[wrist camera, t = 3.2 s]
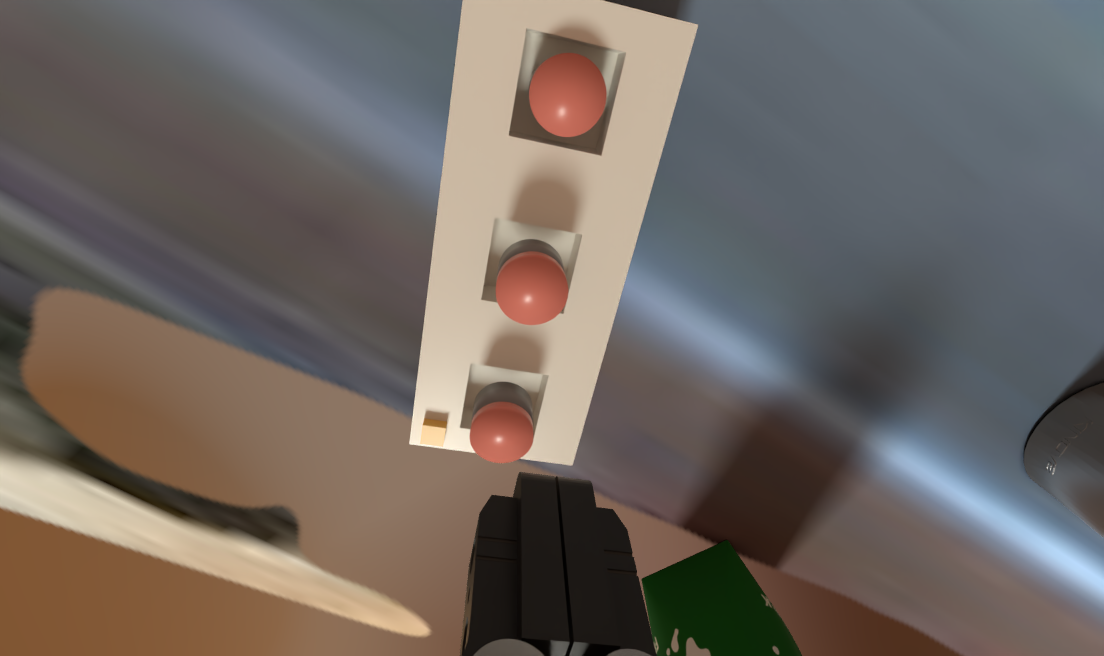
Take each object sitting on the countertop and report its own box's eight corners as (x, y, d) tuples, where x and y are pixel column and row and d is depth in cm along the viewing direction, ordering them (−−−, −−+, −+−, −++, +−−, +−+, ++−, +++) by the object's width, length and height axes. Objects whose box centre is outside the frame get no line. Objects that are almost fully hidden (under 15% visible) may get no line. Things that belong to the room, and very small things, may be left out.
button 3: (537, 386, 27) (539, 416, 25) (526, 434, 28) (527, 466, 26) (478, 377, 27) (474, 407, 24) (470, 426, 28) (465, 458, 26)
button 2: (570, 245, 24) (575, 264, 22) (556, 306, 25) (559, 330, 23) (503, 233, 24) (502, 251, 21) (492, 295, 25) (490, 318, 22)
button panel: (700, -74, 23) (740, -106, 19) (566, 422, 34) (573, 472, 29) (489, -134, 21) (482, -182, 17) (421, 402, 32) (407, 451, 28)
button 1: (605, 63, 23) (615, 62, 20) (588, 136, 24) (596, 144, 22) (535, 47, 22) (537, 44, 20) (522, 122, 23) (522, 128, 21)
